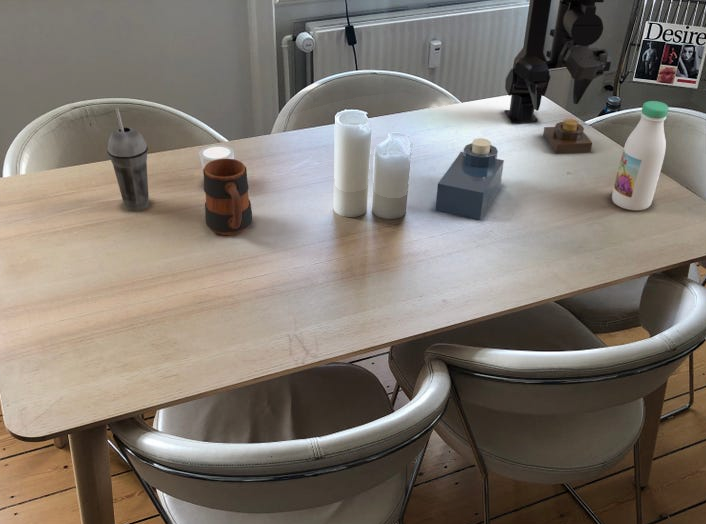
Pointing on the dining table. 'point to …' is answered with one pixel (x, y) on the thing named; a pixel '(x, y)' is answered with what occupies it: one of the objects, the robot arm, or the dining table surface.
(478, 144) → the white short cylinder
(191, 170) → the dining table surface
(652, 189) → the milk bottle
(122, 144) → the beverage cup
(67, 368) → the dining table surface
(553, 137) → the switch block
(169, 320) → the dining table surface
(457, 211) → the blue push button box
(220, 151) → the shot glass
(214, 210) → the mug
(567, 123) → the brass button
